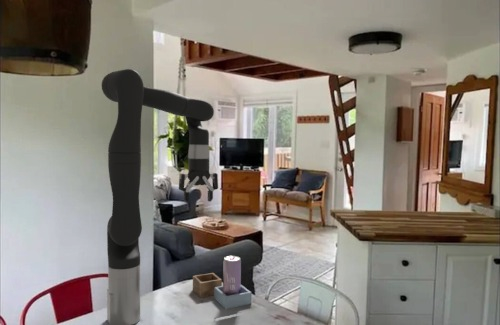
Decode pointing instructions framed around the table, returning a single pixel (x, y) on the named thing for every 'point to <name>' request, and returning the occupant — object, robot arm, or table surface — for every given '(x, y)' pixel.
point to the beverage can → (231, 275)
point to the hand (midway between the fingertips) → (198, 201)
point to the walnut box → (206, 284)
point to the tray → (232, 297)
